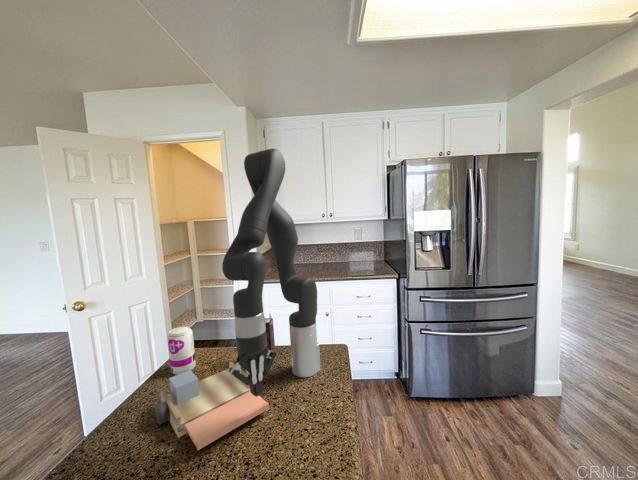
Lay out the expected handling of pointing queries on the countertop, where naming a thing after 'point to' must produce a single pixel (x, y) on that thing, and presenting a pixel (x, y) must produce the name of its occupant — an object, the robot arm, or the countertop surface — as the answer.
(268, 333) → the supplement box
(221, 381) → the flatbed
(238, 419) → the pink rectangular board
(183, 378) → the blue gray block
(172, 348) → the supplement can
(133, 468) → the countertop surface
